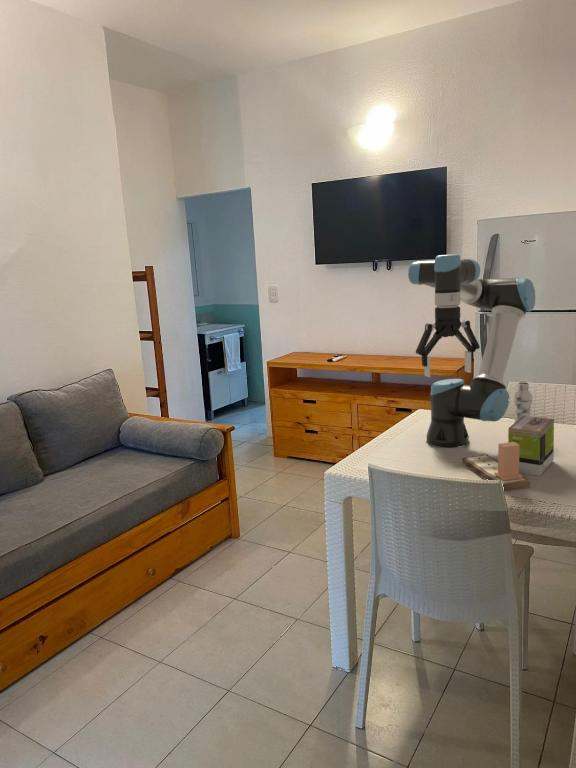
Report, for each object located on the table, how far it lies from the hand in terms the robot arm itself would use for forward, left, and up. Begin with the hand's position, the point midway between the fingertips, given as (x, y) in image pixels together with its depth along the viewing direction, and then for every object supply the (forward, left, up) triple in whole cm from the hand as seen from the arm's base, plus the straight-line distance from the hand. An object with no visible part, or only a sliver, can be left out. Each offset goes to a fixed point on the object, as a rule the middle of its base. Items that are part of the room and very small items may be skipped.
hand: (447, 374), depth 181 cm
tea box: (+7, +25, -32) cm, 41 cm away
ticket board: (+9, +11, -32) cm, 35 cm away
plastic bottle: (-21, +40, -32) cm, 55 cm away
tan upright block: (+17, +11, -29) cm, 35 cm away
